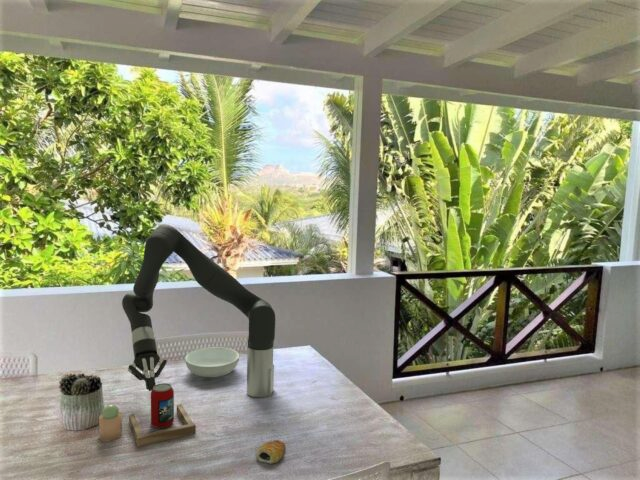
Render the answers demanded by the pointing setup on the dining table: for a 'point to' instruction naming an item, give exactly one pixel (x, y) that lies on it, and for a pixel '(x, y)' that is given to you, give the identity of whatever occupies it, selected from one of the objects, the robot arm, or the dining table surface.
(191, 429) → the corral
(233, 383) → the dining table surface
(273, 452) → the pastry
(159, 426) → the beverage can
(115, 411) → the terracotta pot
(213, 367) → the serving bowl
